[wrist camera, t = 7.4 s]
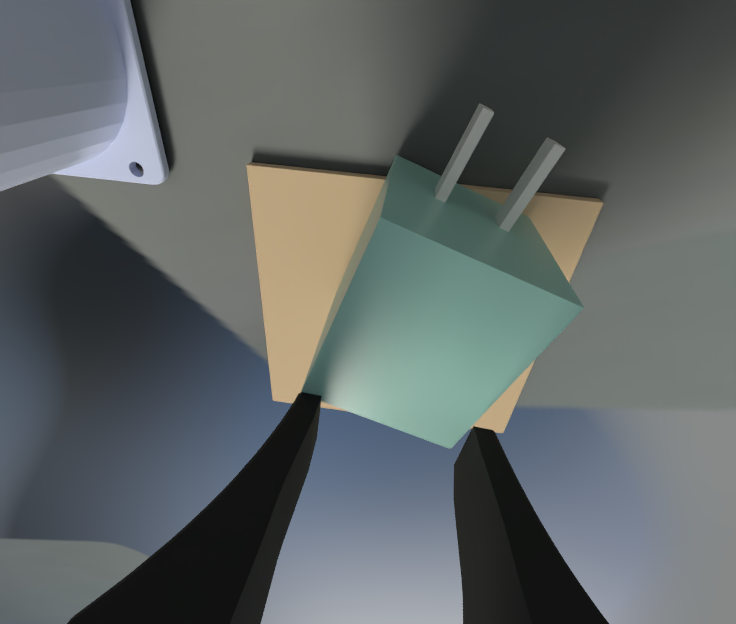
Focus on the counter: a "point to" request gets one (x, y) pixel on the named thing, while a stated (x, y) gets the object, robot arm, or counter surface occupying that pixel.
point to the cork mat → (335, 249)
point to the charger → (442, 299)
